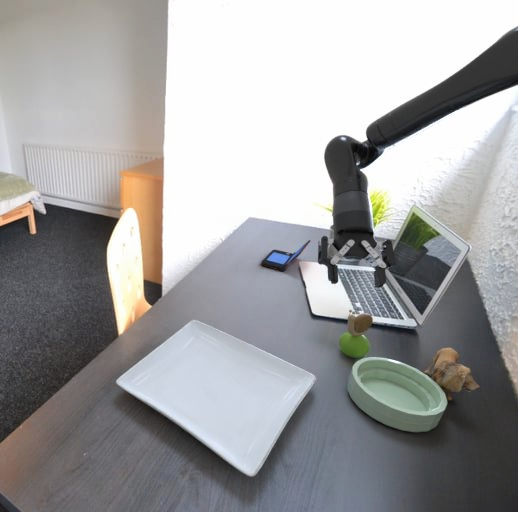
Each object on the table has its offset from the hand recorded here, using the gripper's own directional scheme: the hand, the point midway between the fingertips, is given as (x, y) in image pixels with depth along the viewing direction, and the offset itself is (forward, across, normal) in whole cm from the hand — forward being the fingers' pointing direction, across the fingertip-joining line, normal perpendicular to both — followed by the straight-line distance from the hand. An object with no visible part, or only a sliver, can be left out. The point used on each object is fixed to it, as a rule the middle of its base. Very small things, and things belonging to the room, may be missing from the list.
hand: (356, 284), depth 78 cm
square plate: (+26, -28, -6) cm, 39 cm away
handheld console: (-16, -6, +35) cm, 39 cm away
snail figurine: (+14, 0, +5) cm, 15 cm away
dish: (+23, +2, -4) cm, 23 cm away
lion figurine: (+19, +13, 0) cm, 23 cm away
